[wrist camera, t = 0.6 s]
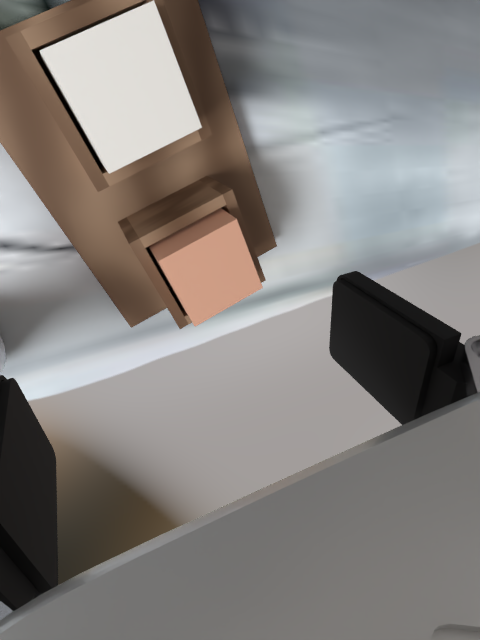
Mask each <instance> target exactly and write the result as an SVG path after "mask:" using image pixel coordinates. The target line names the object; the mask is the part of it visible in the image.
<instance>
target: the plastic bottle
mask: <svg viewBox="0 0 480 640" xmlns="http://www.w3.org/2000/svg"><path fill="white" fill-rule="evenodd" d="M5 362H6V353H5V347H4V343H3V340H2V338H1V337H0V375H1V373H2V371H3V369H4V366H5Z"/></svg>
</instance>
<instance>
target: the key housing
mask: <svg viewBox="0 0 480 640" xmlns="http://www.w3.org/2000/svg"><path fill="white" fill-rule="evenodd" d="M151 1H153V0H71V1H69V2H67V3H64V4H62V5H59V6H57V7H55V8H52V9H50V10H48V11H45V12H43V13H41V14H38V15H36V16H34V17H31V18H29V19H27V20H24V21H22V22H20V23H17V24H15V25H13V26H10V27H8V28H6V29H3V30H1V31H0V143H1V144H2V145H3V147H4V148H5V150H6V151H7V153H8V154H9V155H10V157H11V158H12V160H13V161H14V162H15V164H16V165H17V167H18V168H19V170H20V171H21V172H22V174H23V175H24V177H25V178H26V179H27V181H28V182H29V184H30V185H31V187H32V188H33V189H34V191H35V192H36V194H37V195H38V196H39V198H40V199H41V201H42V202H43V204H44V205H45V206H46V208H47V209H48V211H49V212H50V213H51V215H52V216H53V218H54V219H55V220H56V222H57V223H58V225H59V226H60V228H61V229H62V230H63V232H64V233H65V235H66V236H67V237H68V239H69V240H70V242H71V243H72V245H73V246H74V247H75V249H76V250H77V252H78V253H79V254H80V256H81V257H82V259H83V260H84V262H85V263H86V264H87V266H88V267H89V269H90V270H91V271H92V273H93V274H94V276H95V277H96V278H97V280H98V281H99V283H100V284H101V286H102V287H103V288H104V290H105V291H106V293H107V294H108V295H109V297H110V298H111V300H112V301H113V303H114V304H115V305H116V307H117V308H118V310H119V311H120V312H121V314H122V315H123V317H124V318H125V320H126V321H127V322H128V324H129V325H130V327H131V328H132V327H133V326H135V325H137V324H139V323H141V322H142V321H144V320H146V319H148V318H149V317H151V316H153V315H155V314H157V313H158V312H160V311H162V310H164V309H166V308H168V310H169V311H170V313H171V315H172V316H173V318H174V320H175V321H176V323H177V325H178V326H179V328H180V329H181V328H183V327H185V326H186V325H188V324H190V323H192V321H191V319H190V318H189V316H188V314H187V313H186V311H185V310H184V308H183V306H182V305H181V303H180V301H179V300H178V298H177V296H176V295H175V293H174V291H173V289H172V288H171V286H170V284H169V282H168V281H167V279H166V277H165V275H164V273H163V272H162V270H161V268H160V266H159V265H158V263H157V261H156V259H155V258H154V256H153V254H152V252H151V250H150V249H149V247H148V246H150V245H152V244H154V243H156V242H158V241H159V240H161V239H163V238H165V237H167V236H169V235H171V234H173V233H174V232H176V231H178V230H180V229H182V228H184V227H186V226H188V225H189V224H191V223H193V222H195V221H197V220H199V219H201V218H203V217H204V216H206V215H208V214H210V213H212V212H214V211H216V210H218V209H219V208H222V209H223V210H225V211H226V212H227V213H229V214H230V215H232V216H233V217H235V218H236V219H237V221H238V224H239V226H240V229H241V232H242V234H243V237H244V239H245V242H246V245H247V247H248V250H249V253H250V255H251V258H252V261H253V263H254V266H255V268H256V271H257V274H258V276H259V279H260V282H261V283H262V282H263V281H265V277H264V274H263V272H262V269H261V266H260V263H259V261H258V258H257V257H258V256H260V255H262V254H264V253H266V252H267V251H269V250H271V249H273V248H274V247H276V246H277V245H276V242H275V239H274V235H273V232H272V229H271V226H270V223H269V220H268V217H267V214H266V211H265V208H264V204H263V201H262V198H261V195H260V192H259V189H258V186H257V183H256V180H255V176H254V173H253V170H252V167H251V164H250V161H249V158H248V155H247V152H246V149H245V145H244V142H243V139H242V136H241V133H240V130H239V127H238V124H237V121H236V118H235V114H234V111H233V108H232V105H231V102H230V99H229V96H228V93H227V90H226V86H225V83H224V80H223V77H222V74H221V71H220V68H219V65H218V62H217V59H216V55H215V52H214V49H213V46H212V43H211V40H210V37H209V34H208V31H207V28H206V24H205V21H204V18H203V15H202V12H201V9H200V6H199V3H198V0H154V2H155V4H156V7H157V10H158V12H159V15H160V18H161V20H162V23H163V26H164V28H165V31H166V34H167V36H168V39H169V41H170V44H171V47H172V49H173V52H174V55H175V57H176V60H177V63H178V65H179V68H180V70H181V73H182V76H183V78H184V81H185V84H186V86H187V89H188V92H189V94H190V97H191V100H192V102H193V105H194V107H195V110H196V113H197V115H198V118H199V121H200V123H201V126H202V128H200V129H198V130H196V131H194V132H192V133H190V134H188V135H186V136H184V137H182V138H180V139H178V140H176V141H174V142H172V143H170V144H168V145H166V146H164V147H162V148H160V149H158V150H156V151H154V152H152V153H150V154H148V155H146V156H144V157H142V158H140V159H138V160H136V161H134V162H132V163H130V164H128V165H126V166H124V167H122V168H120V169H118V170H116V171H114V172H112V173H110V174H109V173H108V172H107V170H106V169H105V167H104V166H103V165H102V163H101V162H100V160H99V159H98V157H97V155H96V153H95V152H94V150H93V148H92V146H91V144H90V143H89V141H88V139H87V137H86V136H85V134H84V132H83V130H82V129H81V127H80V125H79V123H78V122H77V120H76V118H75V116H74V114H73V113H72V111H71V109H70V107H69V106H68V104H67V102H66V100H65V99H64V97H63V95H62V93H61V91H60V90H59V88H58V86H57V84H56V83H55V81H54V79H53V77H52V76H51V74H50V72H49V70H48V69H47V67H46V65H45V63H44V61H43V60H42V58H41V54H40V50H42V49H44V48H47V47H49V46H51V45H53V44H56V43H58V42H60V41H62V40H65V39H67V38H69V37H71V36H74V35H76V34H78V33H81V32H83V31H85V30H87V29H90V28H92V27H94V26H96V25H99V24H101V23H103V22H106V21H108V20H110V19H112V18H115V17H117V16H119V15H121V14H124V13H126V12H128V11H131V10H133V9H135V8H137V7H140V6H142V5H144V4H146V3H149V2H151Z"/></svg>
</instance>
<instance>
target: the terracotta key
mask: <svg viewBox="0 0 480 640" xmlns="http://www.w3.org/2000/svg"><path fill="white" fill-rule="evenodd" d="M148 247H149V249H150V250H151V252H152V254H153V256H154V258H155V259H156V261H157V263H158V265H159V266H160V268H161V270H162V272H163V273H164V275H165V277H166V279H167V281H168V282H169V284H170V286H171V288H172V289H173V291H174V293H175V295H176V296H177V298H178V300H179V301H180V303H181V305H182V306H183V308H184V310H185V311H186V313H187V314H188V316H189V318H190V319H191V321H192V323H193V324H194V326H197V325H199V324H200V323H202V322H204V321H206V320H207V319H209V318H211V317H213V316H214V315H216V314H218V313H219V312H221V311H223V310H225V309H226V308H228V307H230V306H232V305H233V304H235V303H237V302H239V301H240V300H242V299H244V298H246V297H247V296H249V295H251V294H253V293H254V292H256V291H258V290H260V289H261V288H263V287H262V284H261V282H260V279H259V276H258V274H257V271H256V268H255V266H254V263H253V261H252V258H251V255H250V253H249V250H248V247H247V245H246V242H245V239H244V237H243V234H242V232H241V229H240V226H239V224H238V221H237V219H236V218H235V217H233V216H232V215H230V214H229V213H227V212H226V211H225V210H223V209H222V208H219V209H218V210H216V211H214V212H212V213H210V214H208V215H206V216H204V217H203V218H201V219H199V220H197V221H195V222H193V223H191V224H189V225H188V226H186V227H184V228H182V229H180V230H178V231H176V232H174V233H173V234H171V235H169V236H167V237H165V238H163V239H161V240H159V241H158V242H156V243H154V244H152V245H150V246H148Z"/></svg>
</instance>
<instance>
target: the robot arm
mask: <svg viewBox="0 0 480 640" xmlns="http://www.w3.org/2000/svg"><path fill="white" fill-rule="evenodd" d="M460 337H461V333H460V332H458V331H456V330H455V329H453V328H452V327H450V326H448V325H447V324H445V323H443V322H442V321H440V320H438V319H437V318H435V317H433V316H432V315H430V314H428V313H426V312H425V311H423V310H421V309H419V308H418V307H416V306H415V305H413V304H411V303H410V302H408V301H406V300H405V299H403V298H401V297H399V296H398V295H396V294H395V293H393V292H391V291H390V290H388V289H386V288H385V287H383V286H381V285H380V284H378V283H376V282H375V281H373V280H371V279H370V278H368V277H366V276H365V275H363V274H361V273H360V272H357V271H354V272H350V273H347V274H343V275H340V276H339V277H338V278H337V281H336V282H334V284H333V296H332V313H331V330H330V347H329V348H330V354H331V356H332V358H333V359H334V360H335V361H336V362H337V363H338V364H339V365H340V366H341V367H343V369H345V370H346V371H347V372H348V373H349V374H350V375H351V376H352V377H353V378H354V379H355V380H356V381H357V382H358V383H359V384H360V385H361V386H362V387H363V388H364V389H365V390H366V391H367V392H369V393H370V394H371V395H372V396H373V397H374V398H375V399H376V400H377V401H378V402H379V403H380V404H381V405H382V406H383V407H384V408H385V409H386V410H387V411H388V412H389V413H390V414H392V415H393V416H394V417H395V418H396V419H397V420H398V421H399V422H400V423H401V424H402V426H400V427H397V428H395V429H393V430H391V431H389V432H386V433H384V434H382V435H380V436H377V437H375V438H373V439H371V440H368V441H366V442H364V443H362V444H360V445H357V446H355V447H353V448H351V449H348V450H346V451H344V452H342V453H340V454H337V455H335V456H333V457H331V458H328V459H326V460H324V461H322V462H320V463H318V464H315V465H313V466H311V467H309V468H306V469H304V470H302V471H300V472H298V473H295V474H293V475H291V476H289V477H287V478H284V479H282V480H280V481H278V482H276V483H274V484H271V485H269V486H267V487H265V488H263V489H260V490H258V491H256V492H254V493H251V494H249V495H247V496H245V497H243V498H241V499H238V500H236V501H234V502H232V503H230V504H227V505H226V506H223V507H221V508H219V509H217V510H214V511H212V512H210V513H208V514H206V515H204V516H202V517H199V518H197V519H195V520H193V521H191V522H189V523H186V524H184V525H182V526H180V527H178V528H175V529H173V530H171V531H169V532H167V533H164V534H162V535H160V536H158V537H156V538H154V539H152V540H150V541H147V542H145V543H143V544H141V545H139V546H137V547H135V548H133V549H131V550H129V551H127V552H124V553H122V554H120V555H118V556H116V557H114V558H112V559H110V560H108V561H106V562H104V563H102V564H100V565H97V566H95V567H93V568H91V569H89V570H87V571H85V572H83V573H81V574H79V575H77V576H75V577H73V578H71V579H70V580H67V581H66V582H64V583H62V584H60V585H58V552H57V494H56V493H57V491H56V457H55V453H54V450H53V448H52V445H51V444H50V442H49V440H48V438H47V436H46V435H45V433H44V431H43V429H42V427H41V425H40V424H39V422H38V420H37V418H36V416H35V415H34V413H33V411H32V409H31V407H30V405H29V403H28V402H27V400H26V398H25V396H24V394H23V393H22V391H21V389H20V387H19V385H18V383H17V382H16V380H15V379H14V378H11V379H6V378H5V377H4V376H2V375H0V640H480V335H479V336H474V337H472V338H470V339H468V340H467V341H466V343H465V345H463V344H462V343H460V342H459V340H460Z"/></svg>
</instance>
